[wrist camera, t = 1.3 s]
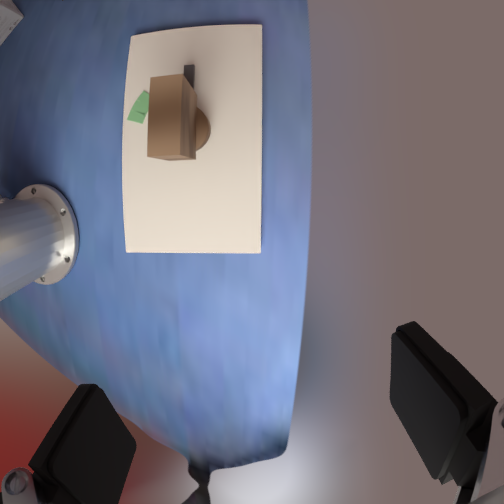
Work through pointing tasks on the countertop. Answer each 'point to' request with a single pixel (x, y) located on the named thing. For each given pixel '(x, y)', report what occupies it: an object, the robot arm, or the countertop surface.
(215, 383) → the countertop surface
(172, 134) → the brown piece
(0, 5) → the supplement box
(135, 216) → the white rectangular slab
